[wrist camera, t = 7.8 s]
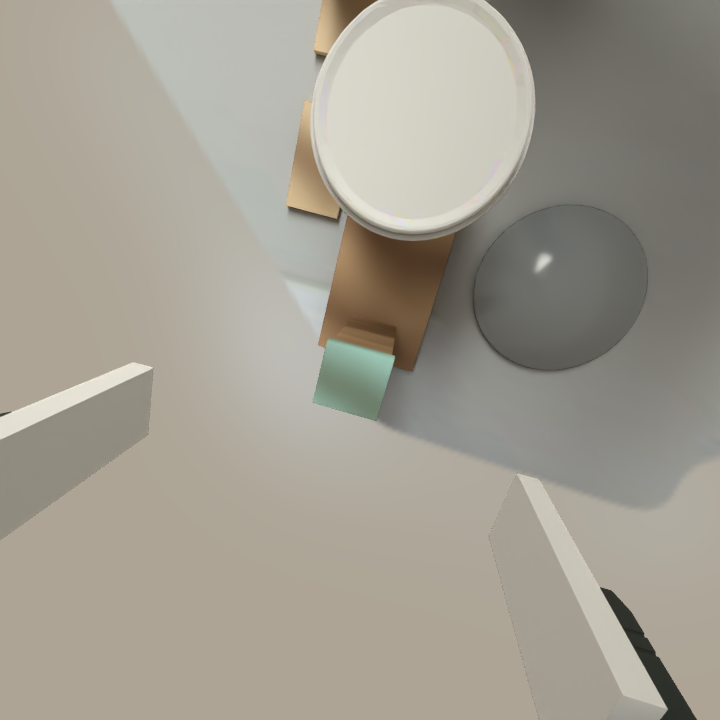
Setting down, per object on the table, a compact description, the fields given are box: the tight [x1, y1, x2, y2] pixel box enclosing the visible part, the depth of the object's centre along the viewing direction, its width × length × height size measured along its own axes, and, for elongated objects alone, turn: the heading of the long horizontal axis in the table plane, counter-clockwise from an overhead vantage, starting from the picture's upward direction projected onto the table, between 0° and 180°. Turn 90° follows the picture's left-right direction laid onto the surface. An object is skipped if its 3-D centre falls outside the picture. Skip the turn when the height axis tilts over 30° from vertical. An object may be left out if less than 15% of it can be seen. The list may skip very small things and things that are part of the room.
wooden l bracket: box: [313, 216, 456, 421], centre depth 24 cm, size 19×8×10 cm, turn 166°
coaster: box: [474, 205, 648, 370], centre depth 28 cm, size 12×12×1 cm
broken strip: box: [286, 0, 378, 219], centre depth 22 cm, size 17×4×10 cm, turn 166°
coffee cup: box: [310, 0, 535, 241], centre depth 21 cm, size 9×9×12 cm
